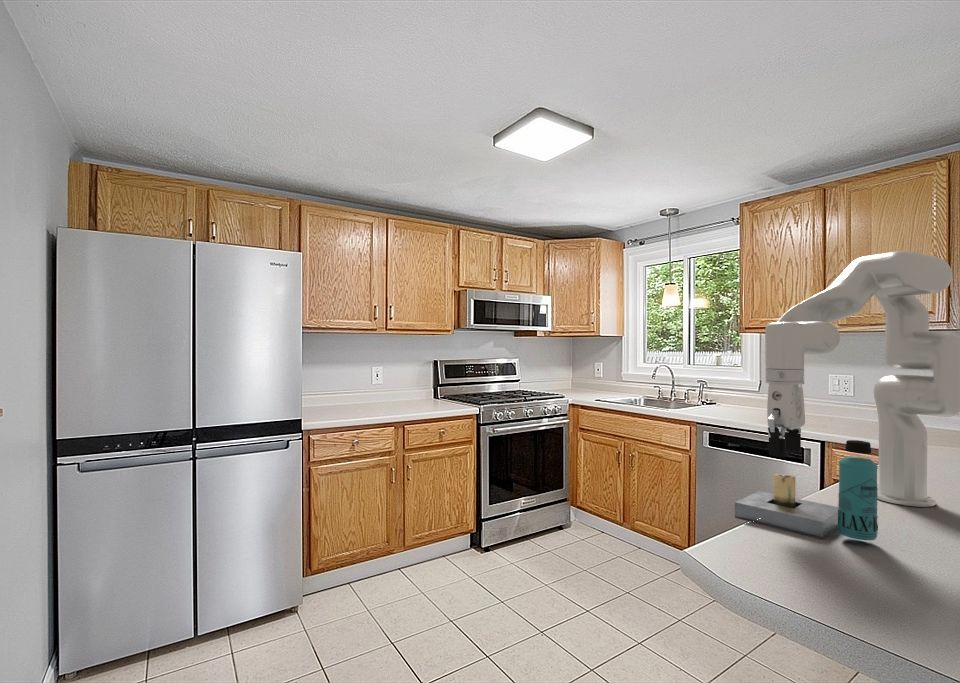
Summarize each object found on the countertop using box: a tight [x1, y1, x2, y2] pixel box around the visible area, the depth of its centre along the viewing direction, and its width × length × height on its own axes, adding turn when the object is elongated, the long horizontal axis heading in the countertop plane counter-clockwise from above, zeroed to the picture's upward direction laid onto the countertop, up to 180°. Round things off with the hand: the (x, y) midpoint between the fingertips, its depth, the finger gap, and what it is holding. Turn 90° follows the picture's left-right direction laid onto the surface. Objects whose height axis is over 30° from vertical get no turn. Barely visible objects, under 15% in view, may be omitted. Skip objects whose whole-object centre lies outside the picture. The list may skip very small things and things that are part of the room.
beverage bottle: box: [837, 439, 879, 541], centre depth 101 cm, size 6×7×20 cm
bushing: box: [773, 473, 796, 508], centre depth 115 cm, size 4×4×9 cm
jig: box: [734, 490, 839, 540], centre depth 113 cm, size 14×17×4 cm
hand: (785, 453), depth 115 cm, fingers open, 9 cm apart
